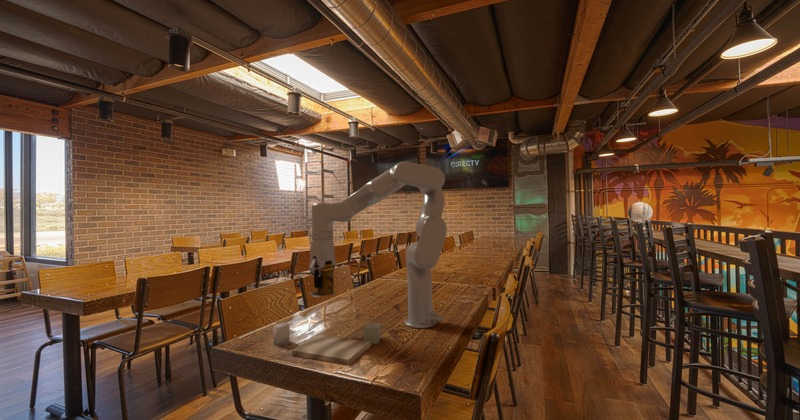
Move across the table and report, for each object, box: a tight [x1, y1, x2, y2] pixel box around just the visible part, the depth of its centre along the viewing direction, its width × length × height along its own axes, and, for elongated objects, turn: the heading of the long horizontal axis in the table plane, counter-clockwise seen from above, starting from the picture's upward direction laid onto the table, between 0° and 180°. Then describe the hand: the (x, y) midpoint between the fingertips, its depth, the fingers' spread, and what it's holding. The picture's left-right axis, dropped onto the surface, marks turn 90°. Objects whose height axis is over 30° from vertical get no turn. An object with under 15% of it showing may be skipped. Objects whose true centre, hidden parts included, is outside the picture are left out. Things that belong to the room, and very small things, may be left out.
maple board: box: [291, 334, 372, 365], centre depth 105 cm, size 20×14×2 cm
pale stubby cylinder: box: [273, 322, 291, 347], centre depth 112 cm, size 5×5×6 cm
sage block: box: [362, 322, 382, 344], centre depth 113 cm, size 5×5×5 cm
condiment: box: [308, 261, 338, 298], centre depth 121 cm, size 7×8×12 cm
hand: (324, 285), depth 122 cm, fingers closed on condiment, 6 cm apart
